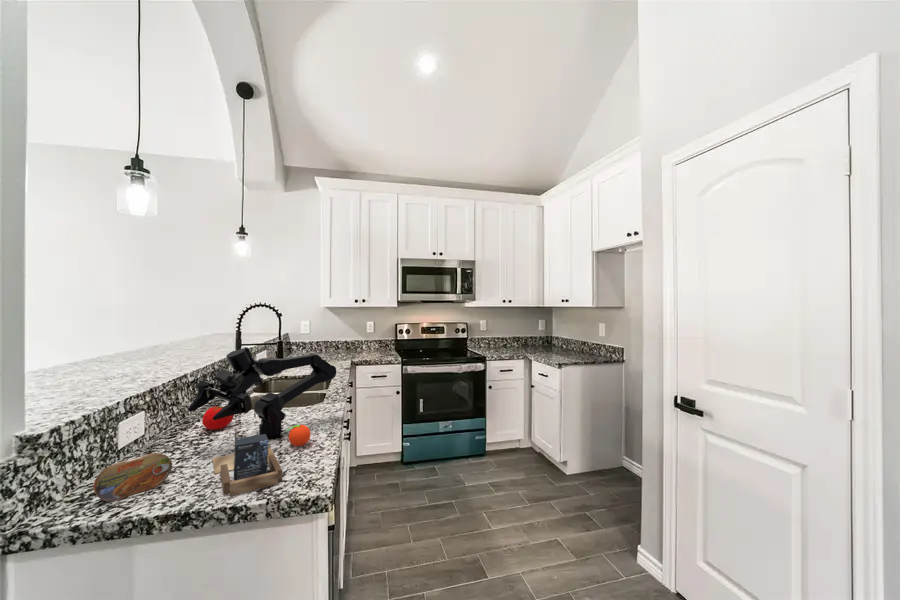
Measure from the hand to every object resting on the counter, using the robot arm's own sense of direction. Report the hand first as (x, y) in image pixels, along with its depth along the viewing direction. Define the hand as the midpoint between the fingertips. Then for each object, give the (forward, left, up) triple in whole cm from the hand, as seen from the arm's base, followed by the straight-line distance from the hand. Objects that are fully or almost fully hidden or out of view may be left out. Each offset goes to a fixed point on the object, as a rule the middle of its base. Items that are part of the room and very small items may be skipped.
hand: (200, 414), depth 107 cm
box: (-11, +17, -15) cm, 26 cm away
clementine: (-27, +1, -15) cm, 31 cm away
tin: (+14, +10, -15) cm, 23 cm away
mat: (-11, +4, -14) cm, 19 cm away
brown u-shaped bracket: (-11, +18, -14) cm, 26 cm away
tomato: (-6, -33, -15) cm, 36 cm away
